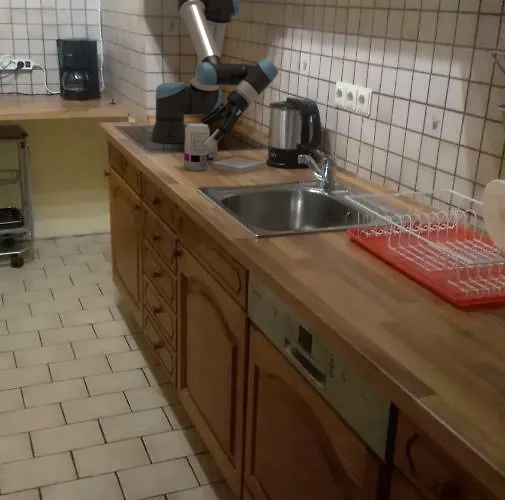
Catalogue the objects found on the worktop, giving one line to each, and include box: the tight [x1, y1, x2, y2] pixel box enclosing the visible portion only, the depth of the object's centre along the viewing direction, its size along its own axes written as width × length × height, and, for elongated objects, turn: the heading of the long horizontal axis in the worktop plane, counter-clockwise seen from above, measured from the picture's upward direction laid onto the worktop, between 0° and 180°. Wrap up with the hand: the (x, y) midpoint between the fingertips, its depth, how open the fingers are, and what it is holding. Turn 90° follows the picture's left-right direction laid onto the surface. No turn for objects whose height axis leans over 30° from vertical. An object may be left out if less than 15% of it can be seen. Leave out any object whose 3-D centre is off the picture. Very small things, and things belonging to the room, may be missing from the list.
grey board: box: [211, 156, 266, 175], centre depth 236 cm, size 15×12×2 cm
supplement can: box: [183, 122, 211, 172], centre depth 229 cm, size 8×8×15 cm
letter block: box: [209, 142, 218, 164], centre depth 245 cm, size 6×6×6 cm
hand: (199, 142), depth 228 cm, fingers open, 13 cm apart
